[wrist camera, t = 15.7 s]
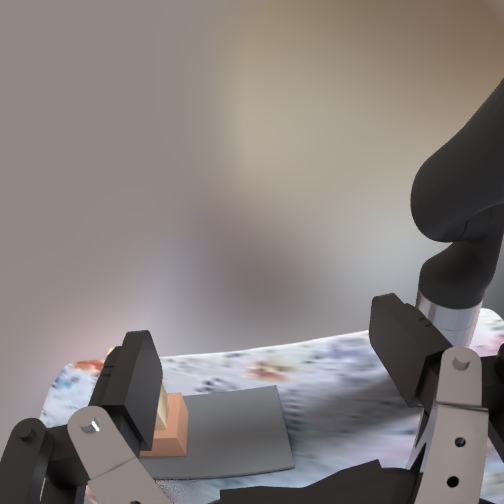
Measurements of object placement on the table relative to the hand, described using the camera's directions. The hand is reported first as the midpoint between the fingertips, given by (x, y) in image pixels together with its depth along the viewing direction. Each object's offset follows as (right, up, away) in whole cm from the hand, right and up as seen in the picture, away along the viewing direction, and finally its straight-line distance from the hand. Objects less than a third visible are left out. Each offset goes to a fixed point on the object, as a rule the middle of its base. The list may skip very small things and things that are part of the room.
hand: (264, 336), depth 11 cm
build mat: (-7, -22, +27) cm, 36 cm away
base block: (-13, -22, +27) cm, 37 cm away
